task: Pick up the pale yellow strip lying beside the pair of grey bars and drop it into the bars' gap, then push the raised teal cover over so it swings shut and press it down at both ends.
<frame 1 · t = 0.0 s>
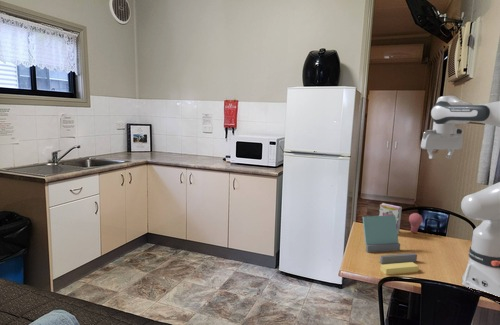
hand: (439, 158, 156), 48 cm above the table, tool pointing down, fingers open, 8 cm apart
pair of grey bars: (390, 256, 158), on the table
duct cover: (380, 229, 166), point 10 cm above the table, hinge at 110.0°
pale yellow strip: (399, 271, 143), on the table
candy bar box: (388, 232, 189), on the table
light bulb: (414, 233, 189), on the table
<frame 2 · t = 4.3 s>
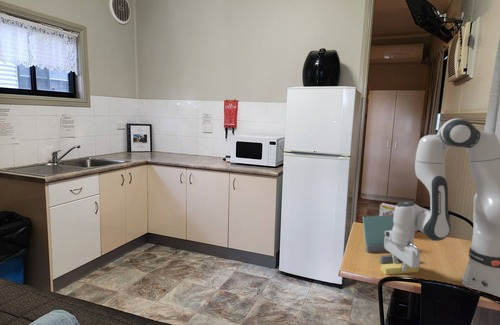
hand: (399, 267, 143), 2 cm above the table, tool pointing down, fingers closed on pale yellow strip, 4 cm apart
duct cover: (380, 229, 166), point 10 cm above the table, hinge at 110.0°, touching pair of grey bars
pale yellow strip: (399, 271, 143), on the table, touching gripper
everything else where it was.
when the fingers open (5 cm above the table, at t = 8.9 s): pale yellow strip drops 3 cm, on the table.
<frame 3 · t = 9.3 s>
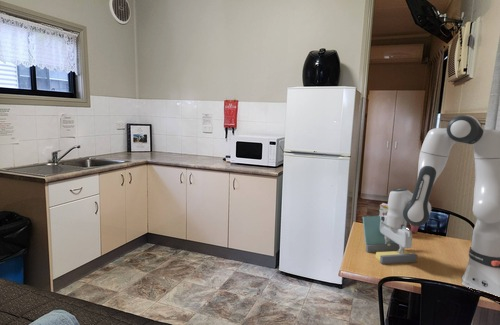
hand: (393, 249, 155), 5 cm above the table, tool pointing down, fingers open, 8 cm apart
pale yellow strip: (393, 259, 156), on the table
everything else where it was.
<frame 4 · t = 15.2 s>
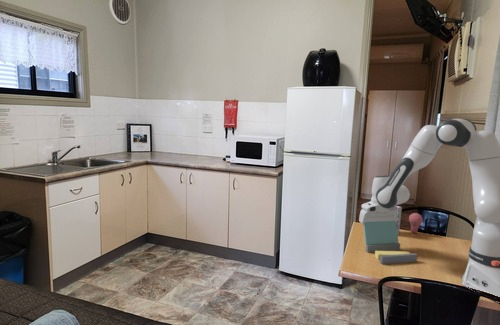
hand: (377, 231, 169), 8 cm above the table, tool pointing down, fingers closed, pressing on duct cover
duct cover: (380, 229, 166), point 10 cm above the table, hinge at 109.5°, touching gripper
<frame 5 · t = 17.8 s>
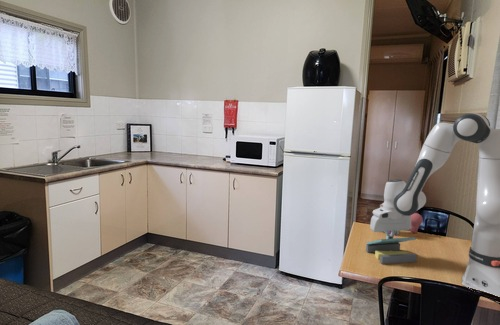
hand: (389, 239, 158), 8 cm above the table, tool pointing down, fingers closed
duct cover: (390, 241, 158), point 7 cm above the table, hinge at 29.5°, touching gripper
everything else where it was.
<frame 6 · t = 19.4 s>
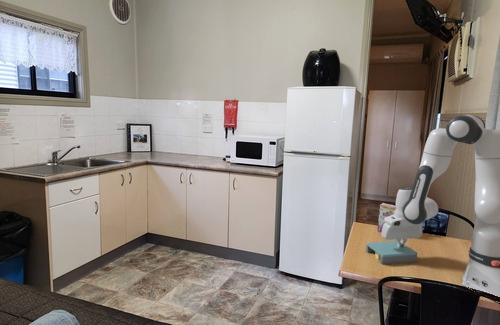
hand: (400, 246, 158), 5 cm above the table, tool pointing down, fingers closed, pressing on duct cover
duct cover: (391, 248, 157), point 4 cm above the table, hinge at 0.0°, touching pair of grey bars, gripper
everything else where it was.
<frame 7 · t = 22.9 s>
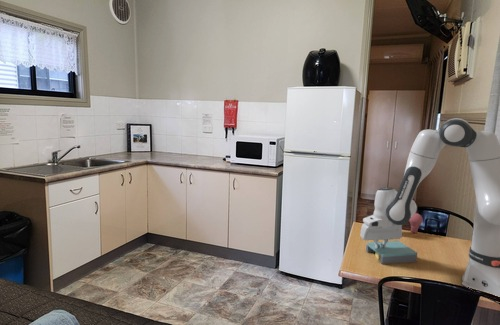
hand: (379, 247, 157), 5 cm above the table, tool pointing down, fingers closed on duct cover
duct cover: (391, 248, 157), point 4 cm above the table, hinge at 0.0°, touching pair of grey bars, gripper
everything else where it was.
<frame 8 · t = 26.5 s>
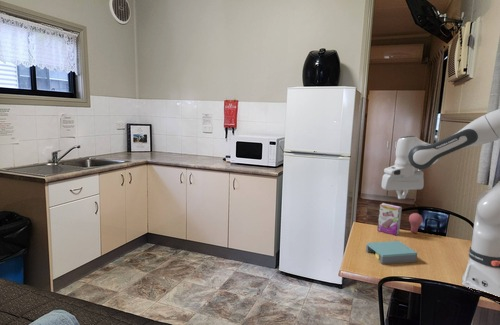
hand: (401, 198, 154), 29 cm above the table, tool pointing down, fingers closed
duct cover: (391, 248, 157), point 4 cm above the table, hinge at 0.0°, touching pair of grey bars
everything else where it was.
at the end: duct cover at +0° (first picture: +110°); pale yellow strip inside the target area (1.1 cm from its centre), on the table; the gripper is holding nothing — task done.
